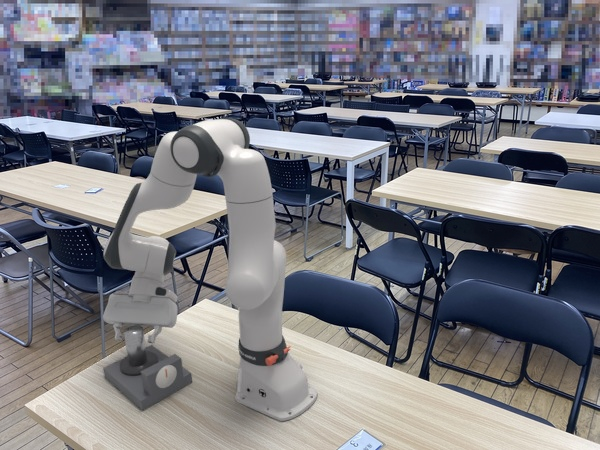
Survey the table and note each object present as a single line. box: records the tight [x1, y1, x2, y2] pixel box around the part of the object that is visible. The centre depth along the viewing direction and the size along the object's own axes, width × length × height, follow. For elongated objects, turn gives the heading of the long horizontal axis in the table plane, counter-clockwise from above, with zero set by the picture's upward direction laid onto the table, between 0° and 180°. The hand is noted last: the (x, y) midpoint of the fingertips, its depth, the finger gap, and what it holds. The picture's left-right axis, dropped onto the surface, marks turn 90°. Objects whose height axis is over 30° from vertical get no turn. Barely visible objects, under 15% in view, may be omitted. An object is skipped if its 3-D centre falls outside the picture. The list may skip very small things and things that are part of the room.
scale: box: [102, 344, 193, 412], centre depth 130 cm, size 20×15×9 cm
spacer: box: [123, 325, 148, 367], centre depth 131 cm, size 5×5×10 cm
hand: (134, 341), depth 130 cm, fingers open, 8 cm apart
